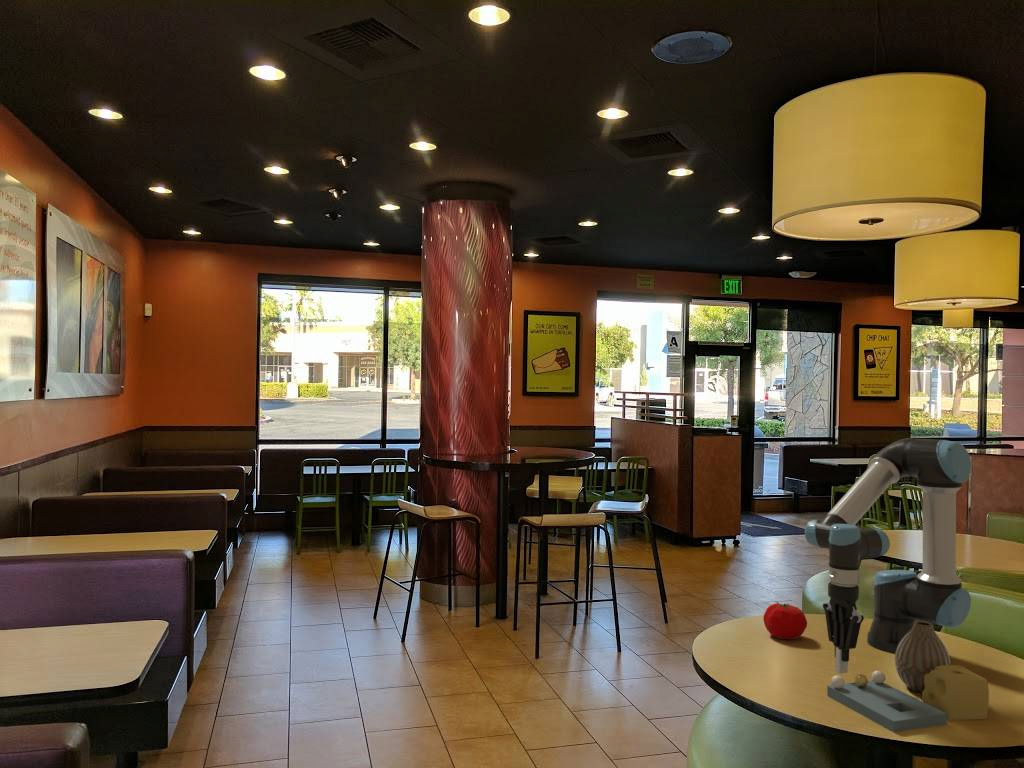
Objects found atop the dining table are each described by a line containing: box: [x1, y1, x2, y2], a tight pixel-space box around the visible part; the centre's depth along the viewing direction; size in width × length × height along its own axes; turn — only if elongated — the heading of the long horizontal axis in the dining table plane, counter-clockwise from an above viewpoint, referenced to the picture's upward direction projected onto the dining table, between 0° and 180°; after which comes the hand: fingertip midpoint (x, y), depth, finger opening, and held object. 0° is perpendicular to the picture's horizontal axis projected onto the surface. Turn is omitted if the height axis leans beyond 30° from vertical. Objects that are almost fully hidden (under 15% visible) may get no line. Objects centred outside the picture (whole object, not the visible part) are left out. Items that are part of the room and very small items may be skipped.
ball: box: [854, 673, 869, 688], centre depth 203 cm, size 3×3×3 cm
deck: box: [826, 679, 948, 733], centre depth 195 cm, size 16×22×2 cm
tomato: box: [762, 600, 808, 640], centre depth 250 cm, size 13×12×11 cm
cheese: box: [921, 664, 990, 721], centre depth 194 cm, size 10×11×10 cm
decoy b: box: [830, 674, 846, 689], centre depth 202 cm, size 3×3×3 cm
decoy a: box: [871, 670, 886, 684], centre depth 206 cm, size 3×3×3 cm
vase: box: [894, 620, 952, 694], centre depth 209 cm, size 13×13×18 cm
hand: (841, 671), depth 209 cm, fingers closed
